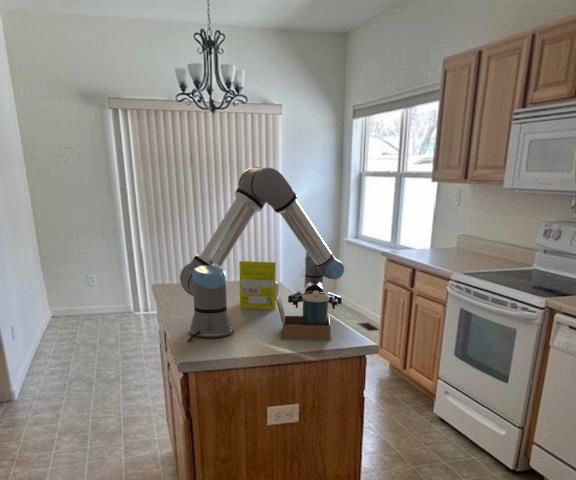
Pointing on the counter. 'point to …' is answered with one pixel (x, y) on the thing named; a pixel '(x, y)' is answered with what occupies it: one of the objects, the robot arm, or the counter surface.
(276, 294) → the lumpy-topped squat cylinder
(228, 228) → the robot arm
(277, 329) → the counter surface
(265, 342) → the counter surface
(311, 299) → the cookie jar
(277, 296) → the flap
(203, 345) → the counter surface
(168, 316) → the counter surface
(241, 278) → the food package
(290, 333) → the carton
